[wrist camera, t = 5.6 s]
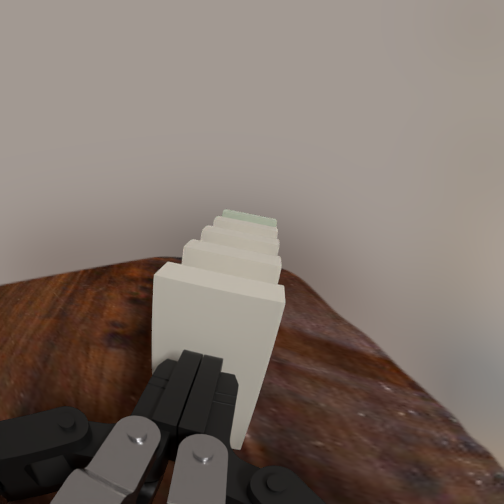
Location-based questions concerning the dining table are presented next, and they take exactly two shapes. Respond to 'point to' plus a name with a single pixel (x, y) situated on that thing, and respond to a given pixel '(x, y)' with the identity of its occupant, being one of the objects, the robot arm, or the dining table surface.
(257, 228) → the domino
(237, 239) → the domino
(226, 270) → the domino
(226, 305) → the domino
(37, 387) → the dining table surface
